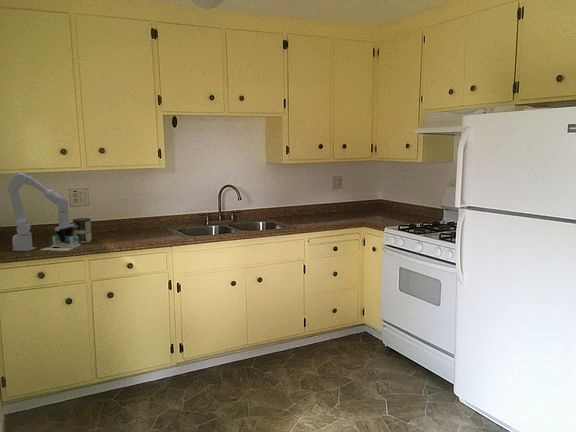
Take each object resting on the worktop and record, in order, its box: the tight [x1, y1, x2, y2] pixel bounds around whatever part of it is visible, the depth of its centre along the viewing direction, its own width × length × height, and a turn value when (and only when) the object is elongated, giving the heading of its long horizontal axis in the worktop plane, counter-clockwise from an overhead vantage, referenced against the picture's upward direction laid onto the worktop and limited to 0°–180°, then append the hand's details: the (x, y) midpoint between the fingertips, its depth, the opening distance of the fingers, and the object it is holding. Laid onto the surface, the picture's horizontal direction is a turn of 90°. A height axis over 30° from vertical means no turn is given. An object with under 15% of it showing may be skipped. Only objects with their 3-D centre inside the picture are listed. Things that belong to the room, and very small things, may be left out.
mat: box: [39, 247, 74, 252], centre depth 262 cm, size 17×6×1 cm, turn 81°
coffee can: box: [72, 217, 93, 244], centre depth 285 cm, size 10×10×14 cm
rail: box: [51, 235, 79, 242], centre depth 270 cm, size 16×2×2 cm, turn 81°
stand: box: [49, 237, 82, 249], centre depth 270 cm, size 15×7×6 cm, turn 81°
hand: (65, 240), depth 270 cm, fingers open, 5 cm apart
